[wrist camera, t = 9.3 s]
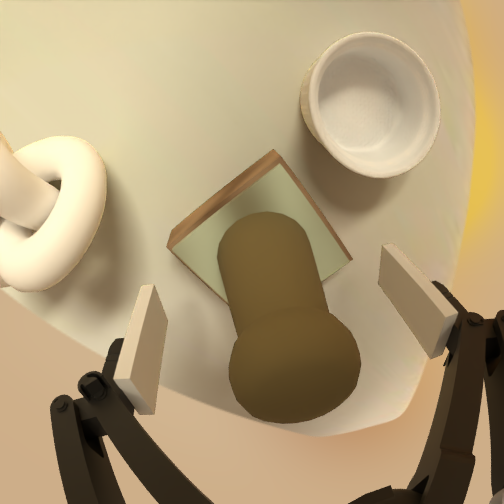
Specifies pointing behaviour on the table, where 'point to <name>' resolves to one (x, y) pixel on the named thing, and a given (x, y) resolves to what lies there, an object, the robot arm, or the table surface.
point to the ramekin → (372, 104)
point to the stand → (245, 203)
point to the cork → (283, 323)
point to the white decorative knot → (48, 209)
